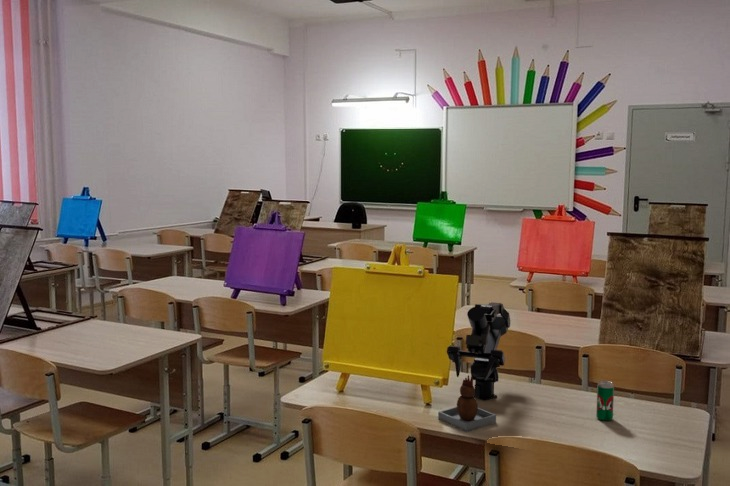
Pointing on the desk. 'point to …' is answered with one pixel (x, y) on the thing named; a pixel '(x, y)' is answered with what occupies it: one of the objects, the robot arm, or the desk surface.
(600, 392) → the soda can
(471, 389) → the wooden figurine
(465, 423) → the tray
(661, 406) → the desk surface
